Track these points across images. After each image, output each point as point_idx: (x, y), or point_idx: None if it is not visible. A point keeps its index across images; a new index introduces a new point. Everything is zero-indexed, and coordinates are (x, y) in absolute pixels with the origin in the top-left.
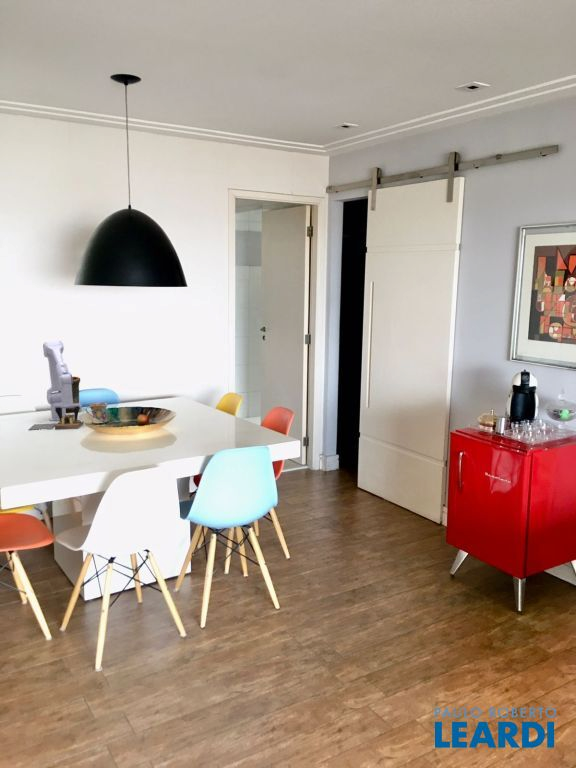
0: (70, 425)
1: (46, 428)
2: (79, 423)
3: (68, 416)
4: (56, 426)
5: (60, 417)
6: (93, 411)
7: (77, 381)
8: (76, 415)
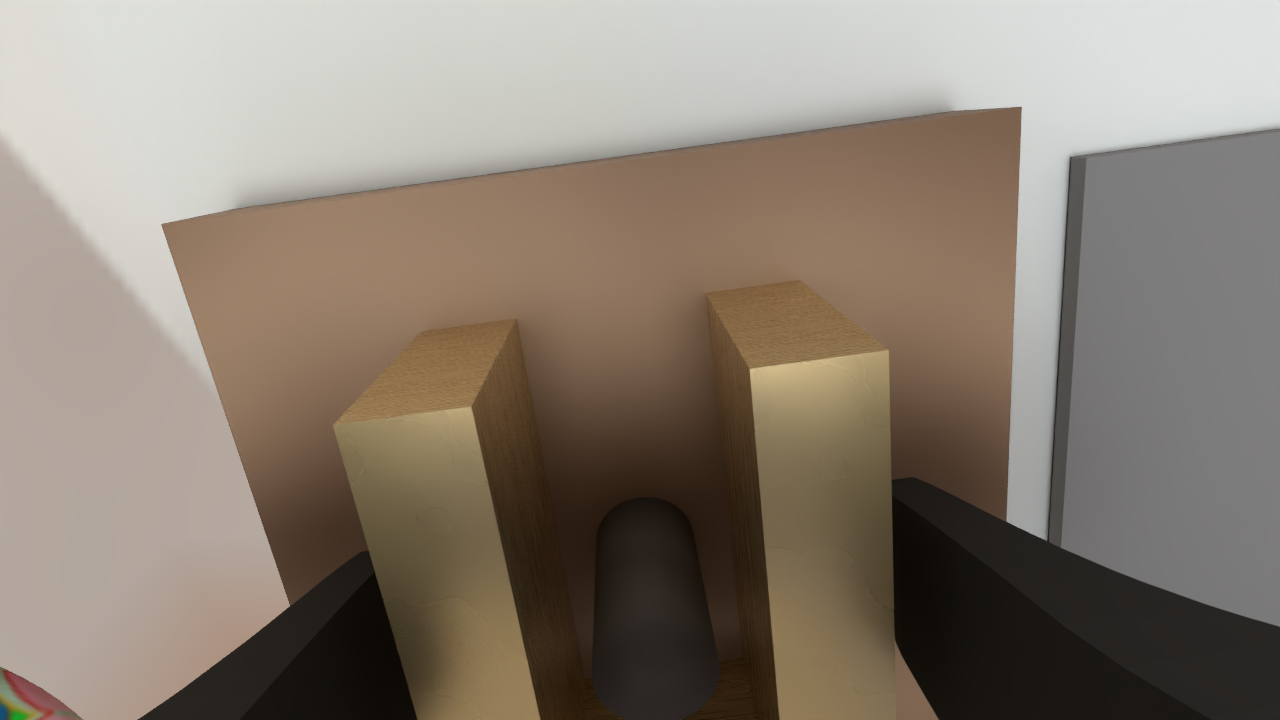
0: (443, 185)
1: (1250, 174)
2: (244, 456)
3: None
4: (947, 116)
5: (981, 544)
6: None
7: None
8: (190, 685)
